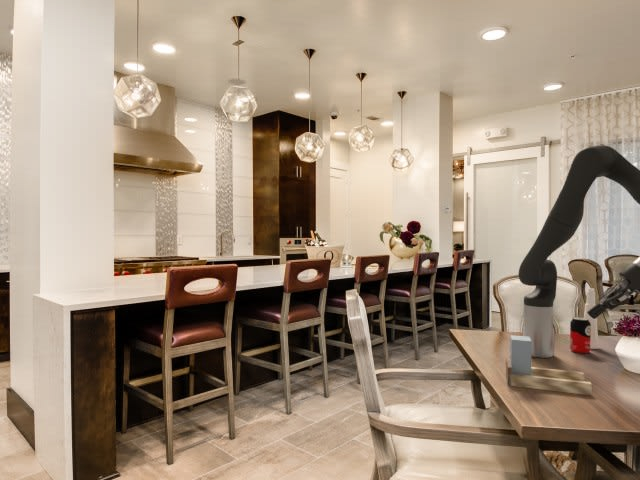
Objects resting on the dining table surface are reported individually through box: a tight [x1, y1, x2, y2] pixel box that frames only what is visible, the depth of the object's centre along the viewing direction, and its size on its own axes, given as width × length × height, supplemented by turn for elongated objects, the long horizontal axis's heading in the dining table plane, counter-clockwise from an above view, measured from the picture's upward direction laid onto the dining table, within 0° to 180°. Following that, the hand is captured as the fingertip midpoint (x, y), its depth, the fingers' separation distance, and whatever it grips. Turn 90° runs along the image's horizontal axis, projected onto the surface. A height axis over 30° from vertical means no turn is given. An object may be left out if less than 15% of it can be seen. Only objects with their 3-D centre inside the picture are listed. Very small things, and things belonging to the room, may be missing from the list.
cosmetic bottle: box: [583, 287, 601, 350], centre depth 165 cm, size 6×6×22 cm
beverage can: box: [569, 316, 591, 354], centre depth 158 cm, size 6×6×12 cm
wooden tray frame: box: [505, 357, 593, 396], centre depth 122 cm, size 20×10×5 cm, turn 70°
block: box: [509, 334, 532, 375], centre depth 124 cm, size 5×6×11 cm
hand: (590, 315), depth 118 cm, fingers closed
